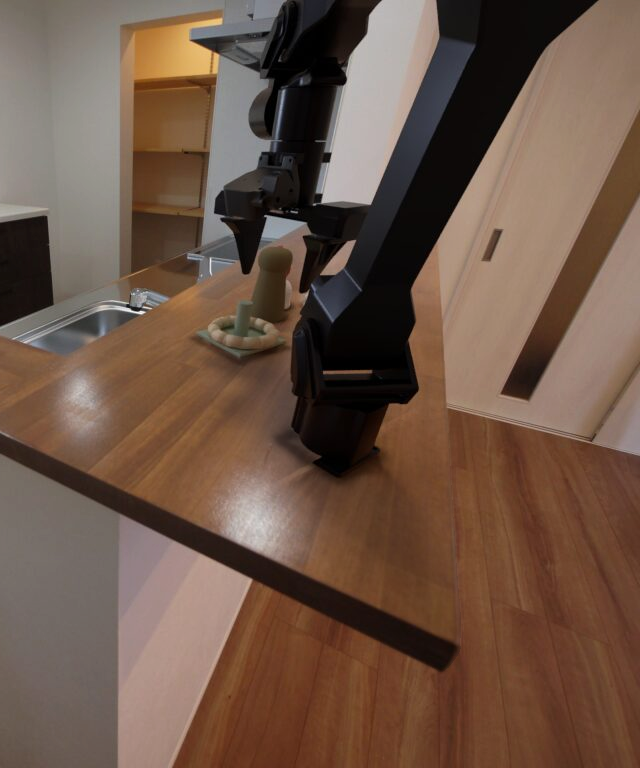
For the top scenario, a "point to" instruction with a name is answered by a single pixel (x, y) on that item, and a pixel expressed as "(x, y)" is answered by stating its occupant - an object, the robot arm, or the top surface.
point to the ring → (243, 342)
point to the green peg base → (240, 331)
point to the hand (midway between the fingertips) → (272, 283)
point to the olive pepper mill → (271, 284)
